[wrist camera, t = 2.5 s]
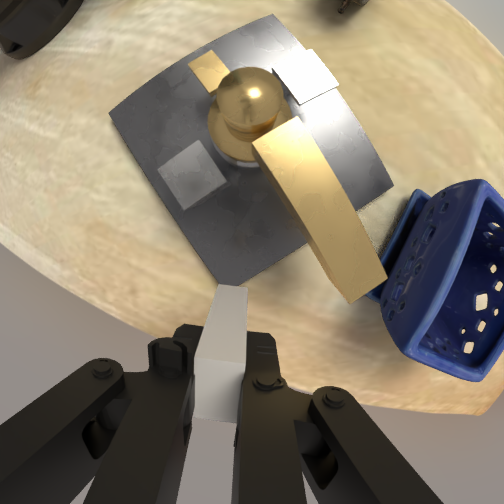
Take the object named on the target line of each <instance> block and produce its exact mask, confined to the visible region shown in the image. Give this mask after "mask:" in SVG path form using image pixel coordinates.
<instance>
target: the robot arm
mask: <svg viewBox="0 0 504 504" xmlns="http://www.w3.org/2000/svg"><path fill="white" fill-rule="evenodd" d="M82 2H83V0H0V49H1V50H2V51H3V53H4V54H6V55H8V56H10V57H12V58H15V59H22V58H25V57H27V56H29V55H31V54H33V53H34V52H36V51H37V50H39V49H40V48H41V47H43V46H44V45H45V44H46V43H48V42H49V41H50V40H51V39H52V38H53V37H54V36H55V35H56V34H57V33H58V32H59V31H60V30H61V29H62V28H63V27H64V26H65V25H66V23H67V22H68V21H69V20H70V19H71V18H72V16H73V15H74V14H75V12H76V11H77V10H78V8H79V7H80V5H81V3H82ZM247 303H248V288H247V287H239V286H230V285H222V284H218V287H217V290H216V293H215V296H214V299H213V302H212V305H211V308H210V311H209V314H208V317H207V320H206V323H205V326H204V327H203V326H196V325H189V324H183V325H182V326H180V327H179V328H177V329H176V331H175V333H174V335H173V337H172V338H169V337H165V338H158V339H156V340H153V341H151V342H150V343H149V344H148V355H149V356H148V357H149V369H148V371H145V372H123V368H122V366H121V364H119V363H118V362H116V361H115V360H111V359H108V358H98V359H94V360H92V361H89V362H88V363H86V364H84V365H83V366H82V367H80V368H79V369H77V370H76V371H75V372H73V373H72V374H70V375H69V376H68V377H66V378H65V379H64V380H62V381H61V382H60V383H58V384H57V385H55V386H54V387H53V388H51V389H50V390H48V391H47V392H46V393H44V394H43V395H41V396H40V397H39V398H37V399H36V400H34V401H33V402H32V403H30V404H29V405H27V406H26V407H25V408H23V409H22V410H21V411H19V412H18V413H16V414H15V415H14V416H12V417H11V418H10V419H8V420H7V421H5V422H4V423H3V424H1V425H0V504H70V503H71V502H72V500H74V498H75V497H76V496H77V495H78V494H79V493H80V492H81V491H82V490H83V489H84V487H85V486H86V485H87V484H88V483H89V482H90V481H91V480H92V479H93V477H94V476H95V478H94V480H93V482H92V485H91V487H90V489H89V491H88V493H87V496H86V498H85V500H84V502H83V504H176V500H177V496H178V491H179V486H180V481H181V476H182V472H183V467H184V462H185V458H186V453H187V448H188V444H189V439H190V434H191V430H192V421H191V420H192V416H193V412H194V418H200V419H207V420H215V421H222V422H231V423H237V427H236V434H235V441H234V447H235V449H234V465H233V466H234V467H233V482H232V500H231V504H307V501H306V494H305V488H304V481H303V476H302V472H303V474H304V476H305V478H306V480H307V482H308V484H309V486H310V488H311V490H312V492H313V494H314V496H315V497H316V499H317V501H318V503H319V504H444V503H443V502H441V500H440V499H439V498H438V497H437V496H436V494H435V493H434V492H433V491H432V490H431V489H430V487H429V486H428V485H427V484H426V483H425V482H424V481H423V479H422V478H421V477H420V476H419V475H418V473H417V472H416V471H415V470H414V469H413V468H412V466H411V465H410V464H409V463H408V462H407V461H406V459H405V458H404V457H403V456H402V455H401V454H400V452H399V451H398V450H397V449H396V447H395V446H394V445H393V444H392V443H391V442H390V440H389V439H388V438H387V437H386V436H385V435H384V433H383V432H382V431H381V430H380V428H379V427H378V426H377V425H376V424H375V422H374V421H373V420H372V419H371V418H370V417H369V415H368V414H367V413H366V412H365V410H364V409H363V408H362V407H361V406H360V404H359V403H358V402H357V401H356V399H355V398H354V397H353V396H352V395H351V394H350V393H349V392H348V391H346V390H344V389H341V388H339V387H334V386H324V387H321V388H318V389H317V390H316V391H315V392H314V393H313V395H309V394H304V393H301V392H298V391H295V390H293V389H291V388H289V387H288V386H287V383H286V381H285V379H284V378H282V377H281V374H280V367H279V361H278V355H277V349H276V342H275V339H274V338H273V337H272V336H271V335H270V334H269V333H260V332H250V331H247Z"/></svg>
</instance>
